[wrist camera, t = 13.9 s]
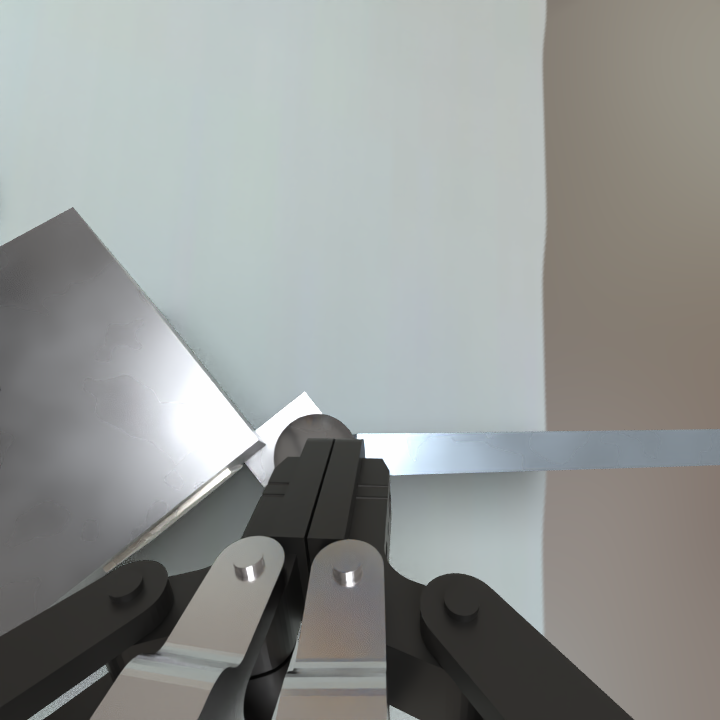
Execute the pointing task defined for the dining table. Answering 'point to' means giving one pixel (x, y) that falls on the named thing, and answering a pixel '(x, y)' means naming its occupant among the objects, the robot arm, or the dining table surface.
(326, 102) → the dining table surface
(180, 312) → the dining table surface
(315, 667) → the robot arm
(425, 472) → the dough scraper
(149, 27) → the dining table surface
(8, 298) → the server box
